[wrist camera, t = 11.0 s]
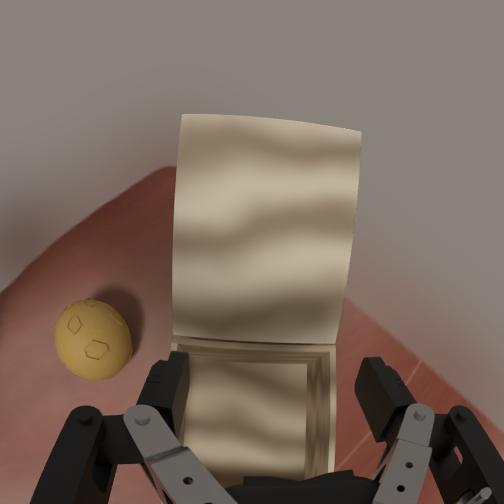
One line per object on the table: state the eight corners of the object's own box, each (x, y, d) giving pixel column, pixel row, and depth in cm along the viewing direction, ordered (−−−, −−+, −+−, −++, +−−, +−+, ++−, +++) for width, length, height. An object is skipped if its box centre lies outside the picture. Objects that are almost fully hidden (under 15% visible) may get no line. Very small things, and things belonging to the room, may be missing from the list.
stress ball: (123, 397, 32) (90, 392, 23) (67, 361, 33) (27, 345, 24) (153, 331, 37) (129, 307, 28) (96, 302, 38) (64, 272, 29)
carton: (305, 501, 27) (328, 527, 18) (177, 497, 26) (161, 524, 17) (310, 360, 36) (335, 345, 28) (186, 353, 36) (172, 336, 27)
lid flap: (361, 131, 24) (359, 132, 24) (182, 114, 23) (183, 115, 23) (335, 343, 28) (333, 341, 28) (173, 334, 27) (174, 332, 27)
